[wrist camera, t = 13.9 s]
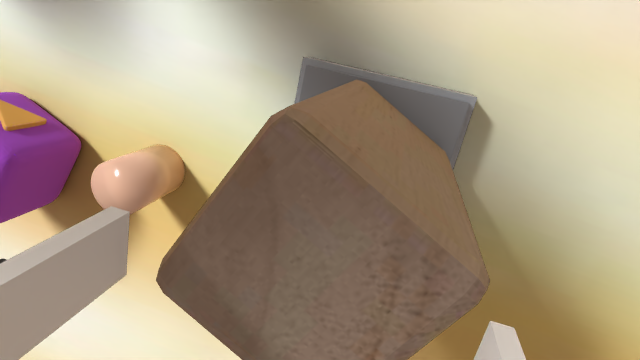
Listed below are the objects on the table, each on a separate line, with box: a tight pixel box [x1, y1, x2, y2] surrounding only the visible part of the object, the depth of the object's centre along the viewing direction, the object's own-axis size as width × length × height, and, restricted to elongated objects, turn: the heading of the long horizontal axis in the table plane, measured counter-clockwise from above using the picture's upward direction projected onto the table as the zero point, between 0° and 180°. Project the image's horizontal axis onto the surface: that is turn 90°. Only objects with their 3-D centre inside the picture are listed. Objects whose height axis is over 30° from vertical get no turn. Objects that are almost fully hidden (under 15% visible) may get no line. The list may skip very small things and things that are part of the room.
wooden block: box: [156, 80, 490, 360], centre depth 24 cm, size 10×10×20 cm
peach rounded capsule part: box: [91, 145, 185, 214], centre depth 38 cm, size 5×5×7 cm
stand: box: [295, 57, 477, 170], centre depth 35 cm, size 14×14×3 cm
